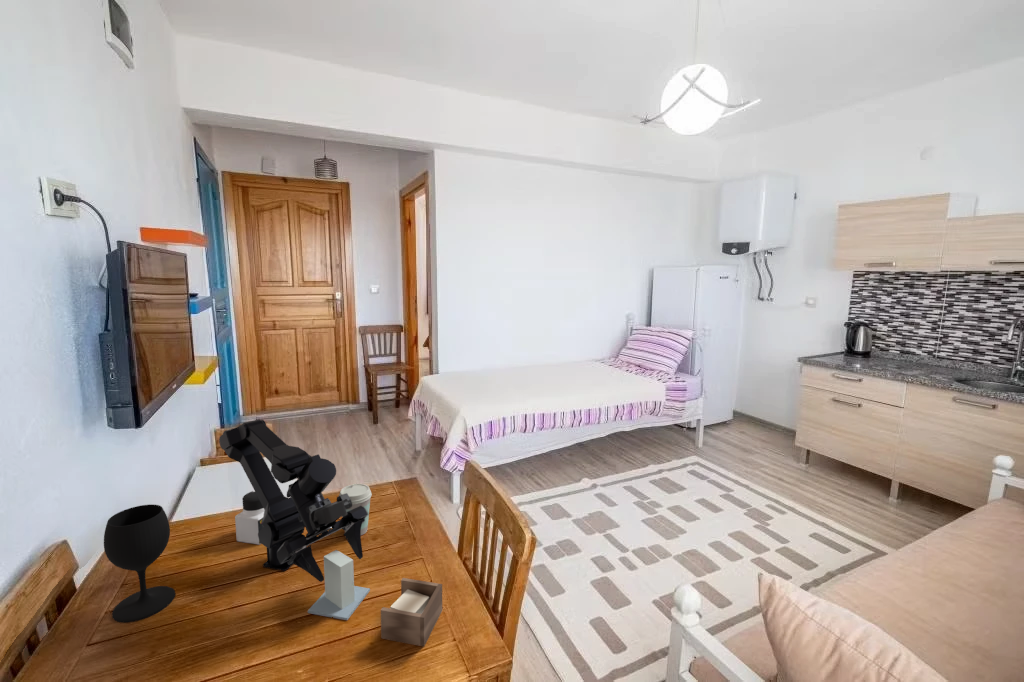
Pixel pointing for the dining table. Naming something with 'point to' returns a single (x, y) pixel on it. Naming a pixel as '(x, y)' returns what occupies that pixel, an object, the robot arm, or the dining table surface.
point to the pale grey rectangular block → (339, 579)
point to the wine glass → (138, 557)
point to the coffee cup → (359, 500)
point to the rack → (413, 615)
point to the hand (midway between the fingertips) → (342, 569)
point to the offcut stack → (411, 602)
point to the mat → (332, 610)
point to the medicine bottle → (250, 519)
